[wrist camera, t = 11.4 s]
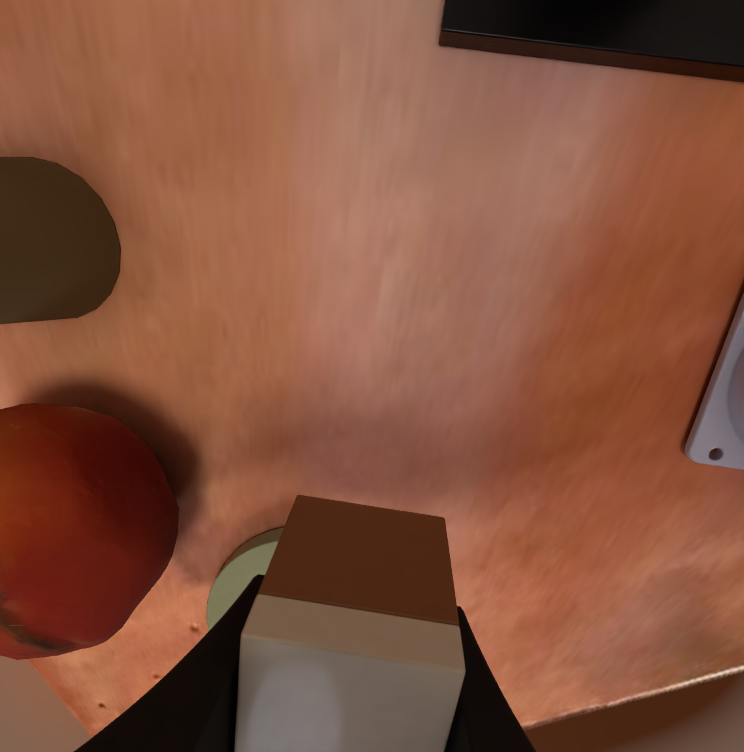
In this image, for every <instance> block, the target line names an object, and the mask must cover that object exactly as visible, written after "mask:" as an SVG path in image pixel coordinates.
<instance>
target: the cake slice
mask: <svg viewBox="0 0 744 752" xmlns="http://www.w3.org/2000/svg"><path fill="white" fill-rule="evenodd" d="M465 672H466V670H465V662H464V655H463V648H462V640H461V633H460V628H459V619H458V612H457V604H456V597H455V590H454V582H453V575H452V568H451V560H450V553H449V546H448V538H447V531H446V524H445V519H444V518H443V517H438V516H431V515H425V514H418V513H412V512H406V511H399V510H393V509H386V508H380V507H374V506H367V505H361V504H354V503H348V502H342V501H335V500H329V499H322V498H316V497H310V496H303V495H298V496H297V497H296V499H295V502H294V504H293V507H292V509H291V512H290V514H289V517H288V519H287V522H286V524H285V527H284V529H283V532H282V534H281V537H280V539H279V541H278V544H277V546H276V549H275V551H274V554H273V556H272V559H271V561H270V564H269V566H268V569H267V571H266V574H265V576H264V579H263V581H262V584H261V586H260V589H259V591H258V595H257V596H256V598H255V601H254V603H253V606H252V608H251V611H250V613H249V616H248V618H247V621H246V623H245V626H244V628H243V630H242V633H241V641H240V658H239V676H238V694H237V711H236V729H235V746H234V752H444V751H445V747H446V744H447V740H448V736H449V732H450V729H451V725H452V721H453V717H454V714H455V710H456V706H457V702H458V699H459V695H460V691H461V687H462V684H463V680H464V676H465Z"/></svg>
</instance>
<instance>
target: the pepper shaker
mask: <svg viewBox="0 0 744 752" xmlns="http://www.w3.org/2000/svg"><path fill="white" fill-rule="evenodd" d="M119 264H120V245H119V241H118V237H117V233H116V229H115V225H114V222H113V220H112V218H111V216H110V214H109V213H108V211H107V209H106V207H105V205H104V204H103V202H102V200H101V198H100V197H99V196H98V195H97V194H96V193H95V192H94V191H93V190H92V189H91V188H90V187H89V186H88V184H87V183H86V182H85V181H84V180H83V179H82V178H81V177H79V176H77V175H76V174H74V173H73V172H71V171H69V170H68V169H66V168H64V167H63V166H61V165H59V164H58V163H54V162H50V161H46V160H41V159H37V158H33V157H0V324H8V323H20V322H32V321H44V320H56V319H68V318H78V317H80V316H82V315H84V314H87V313H89V312H91V311H93V310H95V309H97V308H98V307H99V306H100V305H101V303H102V302H103V301H104V300H105V299H106V298H107V297H108V296H109V295H110V294H111V292H112V289H113V287H114V284H115V282H116V279H117V277H118V274H119Z"/></svg>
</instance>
